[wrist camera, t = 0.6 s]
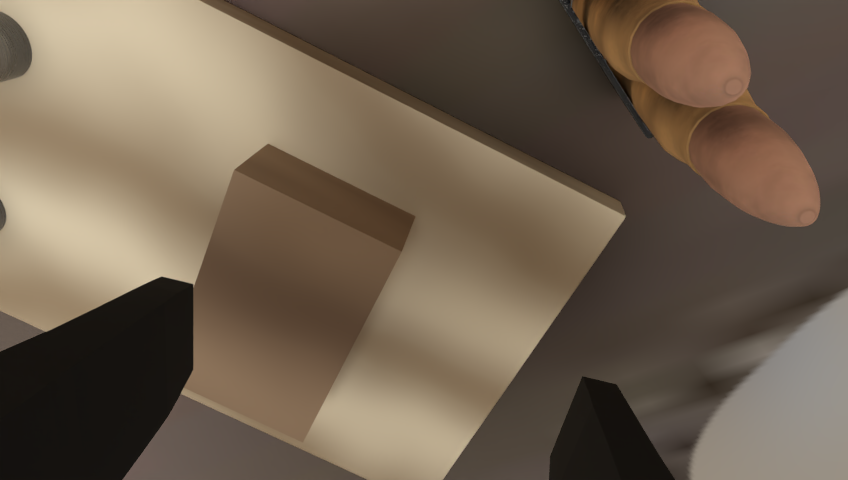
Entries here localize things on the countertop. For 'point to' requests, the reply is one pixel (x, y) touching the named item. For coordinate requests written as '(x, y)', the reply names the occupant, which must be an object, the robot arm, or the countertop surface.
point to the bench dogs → (12, 61)
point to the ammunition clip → (699, 101)
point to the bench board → (315, 144)
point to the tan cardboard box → (288, 288)
